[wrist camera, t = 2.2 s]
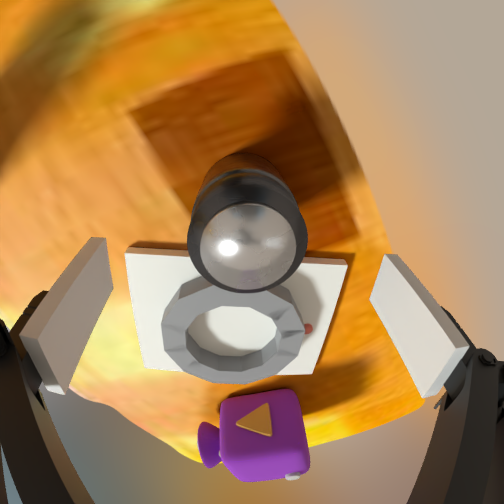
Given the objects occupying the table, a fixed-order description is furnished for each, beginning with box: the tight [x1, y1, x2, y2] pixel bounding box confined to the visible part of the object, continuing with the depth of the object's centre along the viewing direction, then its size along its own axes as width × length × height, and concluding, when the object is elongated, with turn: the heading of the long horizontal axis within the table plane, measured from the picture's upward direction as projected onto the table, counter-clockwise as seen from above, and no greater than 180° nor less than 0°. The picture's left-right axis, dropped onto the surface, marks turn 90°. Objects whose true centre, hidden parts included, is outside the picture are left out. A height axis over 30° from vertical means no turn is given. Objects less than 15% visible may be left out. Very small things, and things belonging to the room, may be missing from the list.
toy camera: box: [197, 389, 310, 482], centre depth 32 cm, size 11×14×10 cm
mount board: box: [125, 247, 348, 384], centre depth 27 cm, size 14×18×3 cm
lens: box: [187, 153, 308, 293], centre depth 19 cm, size 6×6×9 cm
